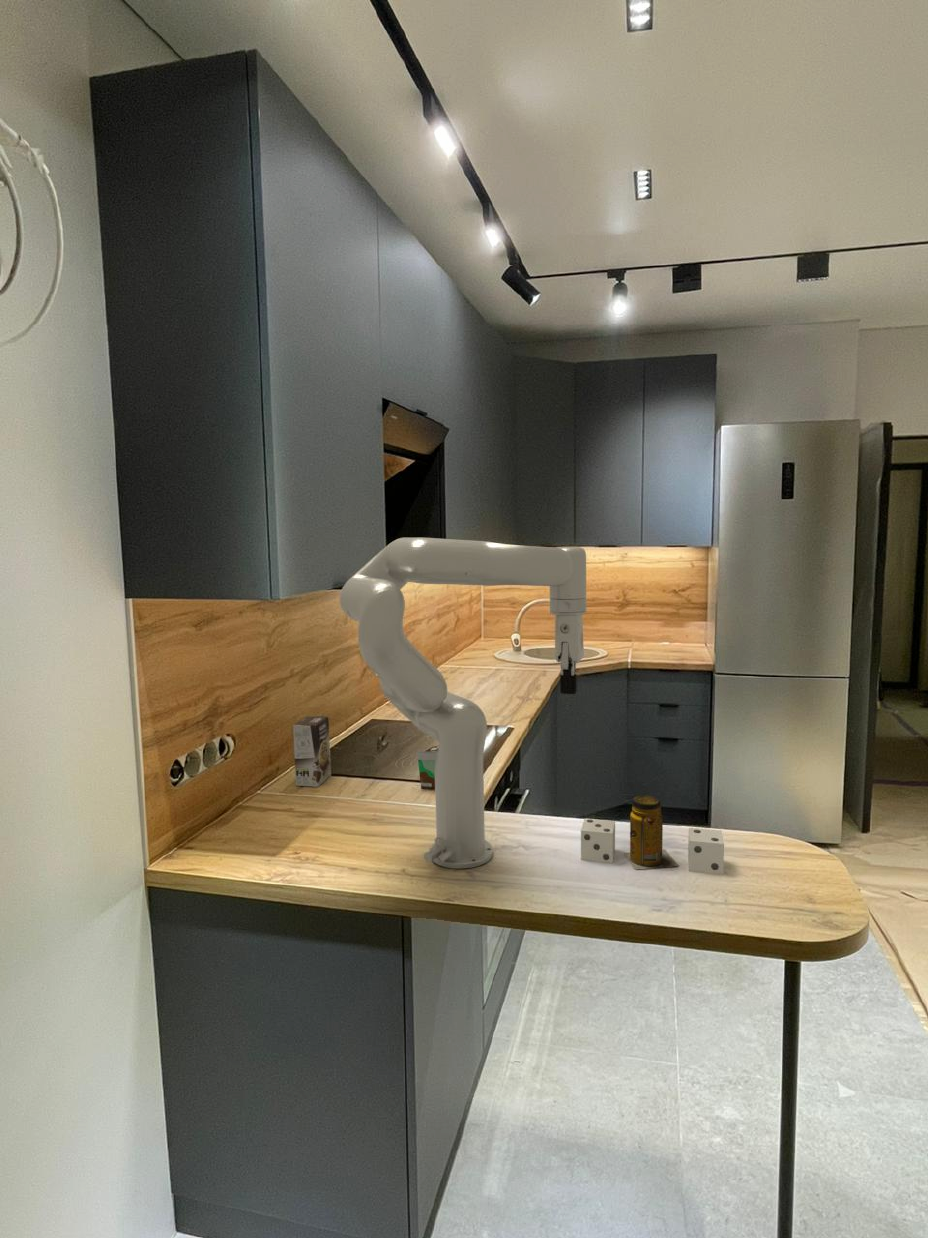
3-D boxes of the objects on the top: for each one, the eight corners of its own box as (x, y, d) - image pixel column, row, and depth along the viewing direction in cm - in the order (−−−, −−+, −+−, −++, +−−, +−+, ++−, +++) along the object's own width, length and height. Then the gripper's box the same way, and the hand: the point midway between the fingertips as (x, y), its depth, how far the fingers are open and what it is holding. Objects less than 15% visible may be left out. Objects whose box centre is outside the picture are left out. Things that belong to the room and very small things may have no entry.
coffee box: (318, 787, 182) (315, 725, 180) (295, 786, 184) (291, 724, 182) (332, 775, 191) (329, 715, 189) (309, 774, 193) (306, 715, 191)
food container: (436, 795, 175) (435, 755, 174) (417, 790, 179) (415, 751, 178) (466, 780, 185) (465, 742, 184) (448, 776, 189) (447, 738, 187)
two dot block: (723, 875, 132) (724, 843, 131) (689, 872, 134) (689, 840, 133) (721, 860, 138) (721, 830, 137) (688, 857, 140) (688, 827, 139)
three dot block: (612, 863, 138) (612, 833, 137) (580, 860, 139) (580, 830, 139) (615, 850, 144) (615, 820, 143) (584, 847, 145) (584, 818, 144)
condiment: (623, 853, 142) (623, 794, 140) (665, 850, 143) (665, 792, 141) (635, 870, 135) (636, 809, 133) (679, 867, 135) (680, 806, 134)
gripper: (582, 610, 142) (582, 702, 144) (590, 602, 156) (590, 686, 158) (544, 610, 144) (545, 700, 146) (555, 602, 158) (556, 684, 160)
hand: (568, 692), depth 152 cm, fingers closed
